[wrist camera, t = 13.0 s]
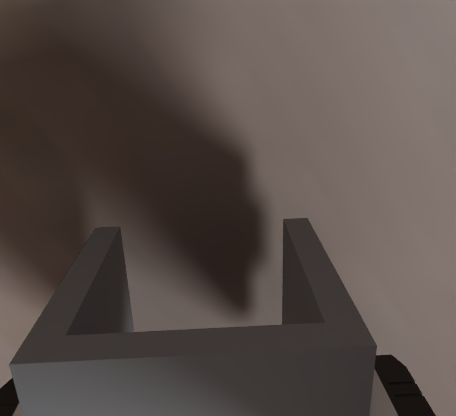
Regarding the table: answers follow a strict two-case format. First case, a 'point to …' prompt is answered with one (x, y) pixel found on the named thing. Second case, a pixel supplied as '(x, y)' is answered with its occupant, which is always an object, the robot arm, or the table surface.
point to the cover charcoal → (196, 347)
